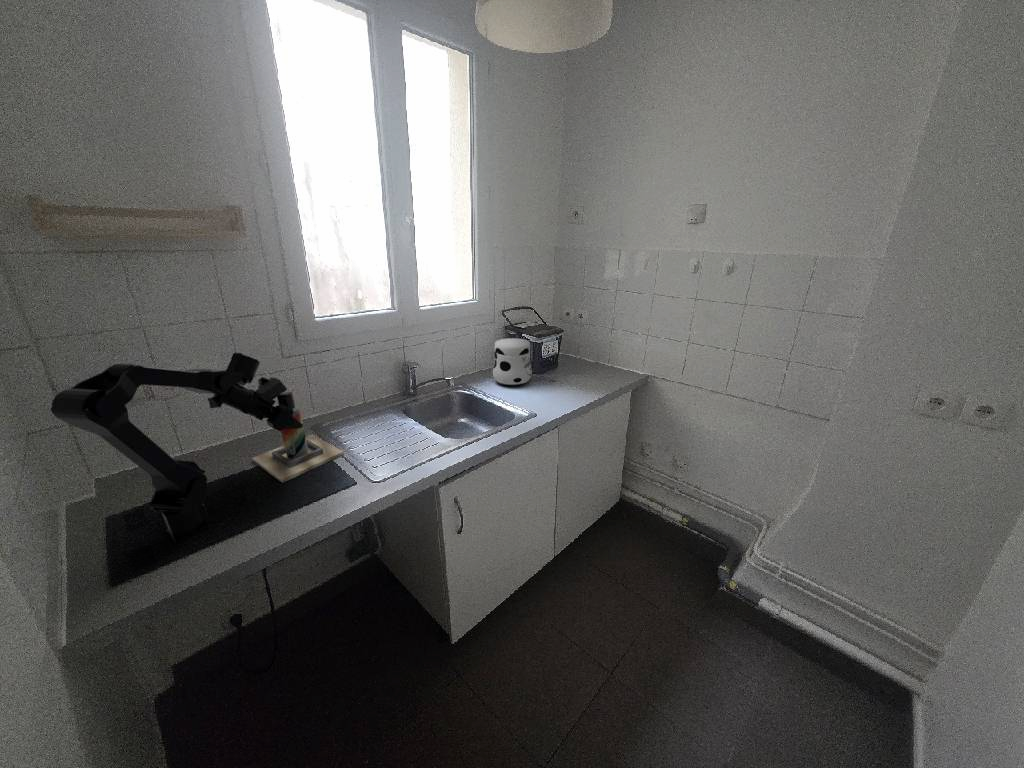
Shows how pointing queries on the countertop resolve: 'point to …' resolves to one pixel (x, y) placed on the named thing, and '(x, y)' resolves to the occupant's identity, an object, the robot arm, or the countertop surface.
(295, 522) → the countertop surface
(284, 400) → the lotion bottle
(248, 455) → the countertop surface
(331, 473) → the countertop surface
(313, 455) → the port board
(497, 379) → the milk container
